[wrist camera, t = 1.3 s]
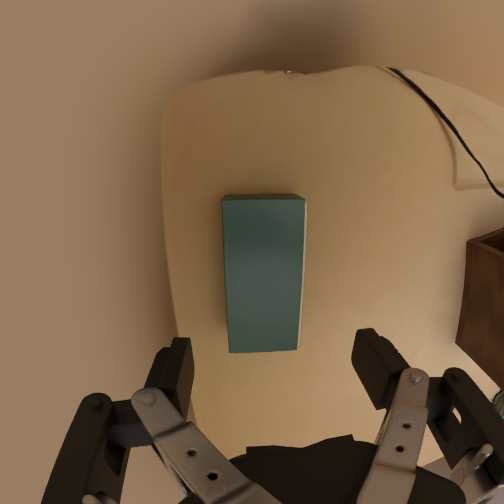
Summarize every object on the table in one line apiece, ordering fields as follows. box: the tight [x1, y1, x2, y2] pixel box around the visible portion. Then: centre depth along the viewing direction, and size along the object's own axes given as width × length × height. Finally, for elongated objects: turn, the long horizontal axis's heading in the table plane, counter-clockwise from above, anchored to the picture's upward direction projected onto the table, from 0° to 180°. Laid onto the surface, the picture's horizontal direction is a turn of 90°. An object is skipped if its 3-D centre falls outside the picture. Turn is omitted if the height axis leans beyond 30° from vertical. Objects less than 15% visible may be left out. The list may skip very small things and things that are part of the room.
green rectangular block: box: [222, 194, 307, 353], centre depth 22 cm, size 12×6×4 cm, turn 1°
